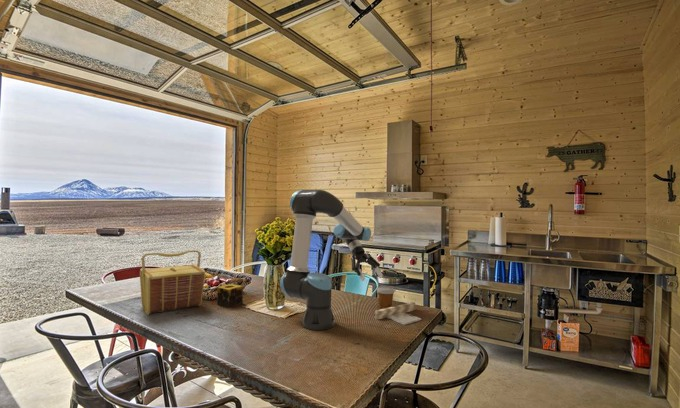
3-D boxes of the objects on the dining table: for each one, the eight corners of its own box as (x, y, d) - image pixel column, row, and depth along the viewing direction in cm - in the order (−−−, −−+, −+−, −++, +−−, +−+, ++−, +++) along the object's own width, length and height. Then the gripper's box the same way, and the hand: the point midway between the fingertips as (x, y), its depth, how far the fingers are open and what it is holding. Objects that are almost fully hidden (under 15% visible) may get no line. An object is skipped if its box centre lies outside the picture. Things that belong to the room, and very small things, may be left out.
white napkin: (404, 325, 155) (404, 323, 155) (386, 317, 164) (386, 315, 164) (421, 320, 162) (421, 318, 162) (403, 313, 171) (403, 311, 171)
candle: (243, 303, 184) (243, 285, 184) (228, 308, 176) (228, 289, 176) (231, 300, 190) (231, 283, 190) (216, 304, 181) (216, 286, 181)
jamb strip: (377, 319, 161) (377, 311, 161) (374, 318, 163) (374, 310, 163) (415, 310, 178) (415, 302, 178) (412, 309, 179) (412, 301, 179)
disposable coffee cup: (395, 313, 172) (395, 290, 172) (377, 312, 172) (377, 290, 172) (392, 307, 181) (393, 286, 182) (375, 307, 182) (376, 285, 182)
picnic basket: (144, 319, 156) (145, 256, 156) (136, 305, 176) (137, 250, 176) (206, 308, 175) (208, 252, 175) (193, 297, 195) (194, 247, 195)
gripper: (369, 251, 207) (385, 279, 195) (337, 254, 193) (352, 284, 180) (374, 244, 203) (391, 272, 191) (342, 246, 188) (358, 277, 176)
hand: (372, 278), depth 186 cm, fingers open, 13 cm apart
